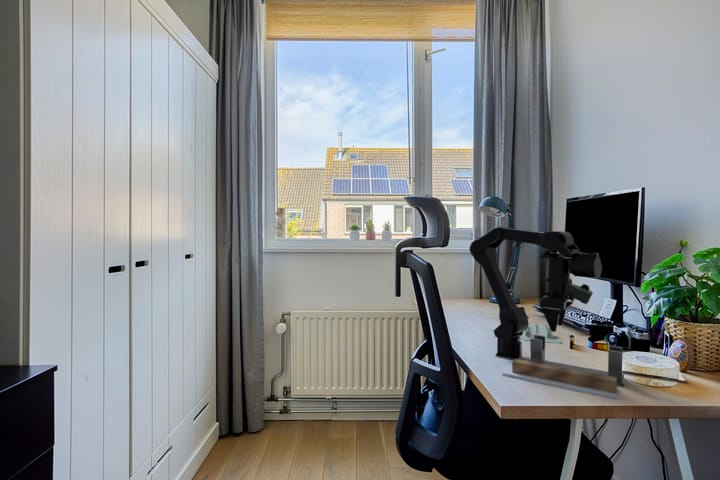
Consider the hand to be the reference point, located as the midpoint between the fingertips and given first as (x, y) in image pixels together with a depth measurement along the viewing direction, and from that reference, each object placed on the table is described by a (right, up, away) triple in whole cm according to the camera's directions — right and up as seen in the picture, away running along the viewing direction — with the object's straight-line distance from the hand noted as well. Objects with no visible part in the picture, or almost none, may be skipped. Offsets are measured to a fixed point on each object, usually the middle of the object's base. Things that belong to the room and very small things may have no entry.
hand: (556, 328), depth 110 cm
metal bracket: (+10, -12, +33) cm, 37 cm away
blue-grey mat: (-5, -12, -10) cm, 16 cm away
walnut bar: (-4, -11, -11) cm, 16 cm away
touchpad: (+24, -13, -3) cm, 27 cm away
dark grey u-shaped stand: (+3, -12, -3) cm, 13 cm away
